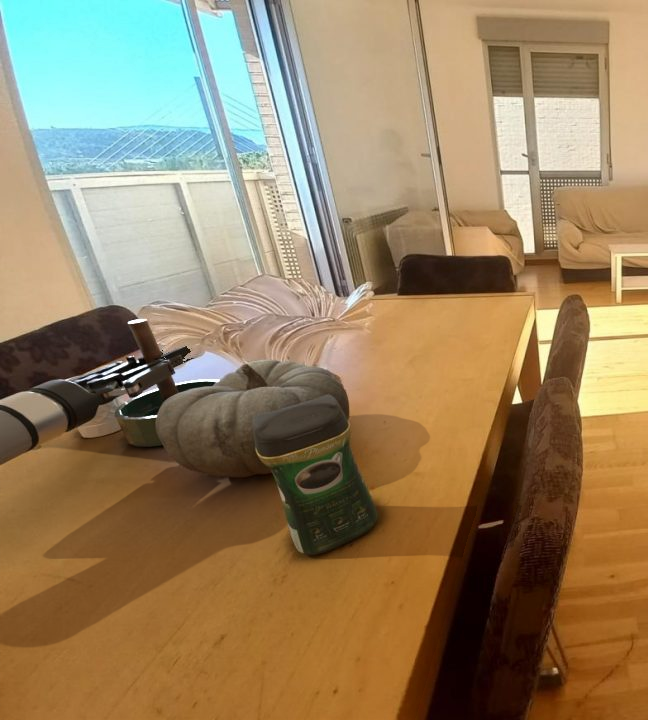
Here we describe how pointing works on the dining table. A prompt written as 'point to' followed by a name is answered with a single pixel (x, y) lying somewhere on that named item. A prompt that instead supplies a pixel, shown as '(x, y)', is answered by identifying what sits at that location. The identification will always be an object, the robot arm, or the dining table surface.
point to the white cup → (102, 420)
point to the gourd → (237, 414)
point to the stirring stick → (151, 353)
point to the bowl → (148, 414)
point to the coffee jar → (315, 473)
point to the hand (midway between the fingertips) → (182, 351)
